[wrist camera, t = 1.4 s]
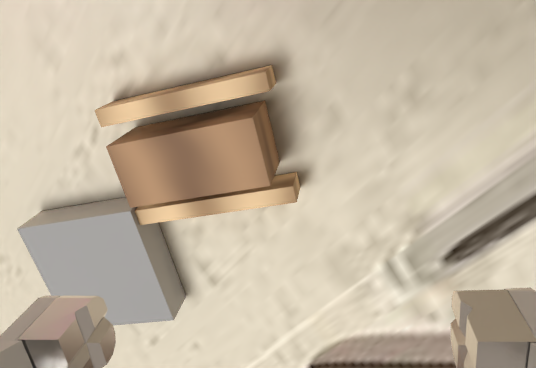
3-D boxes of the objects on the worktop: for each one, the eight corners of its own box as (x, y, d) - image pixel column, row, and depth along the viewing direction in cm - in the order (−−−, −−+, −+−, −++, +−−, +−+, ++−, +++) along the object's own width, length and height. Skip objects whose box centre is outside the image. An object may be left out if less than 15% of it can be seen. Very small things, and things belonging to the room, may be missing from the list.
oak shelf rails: (271, 64, 29) (265, 71, 26) (300, 187, 32) (296, 202, 30) (112, 101, 31) (94, 110, 29) (153, 209, 35) (140, 225, 32)
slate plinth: (147, 193, 34) (129, 211, 31) (186, 296, 38) (173, 320, 35) (41, 211, 37) (17, 228, 34) (87, 306, 40) (68, 329, 38)
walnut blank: (265, 99, 30) (252, 117, 26) (280, 160, 31) (270, 185, 27) (136, 126, 32) (106, 146, 28) (156, 181, 34) (130, 207, 30)
